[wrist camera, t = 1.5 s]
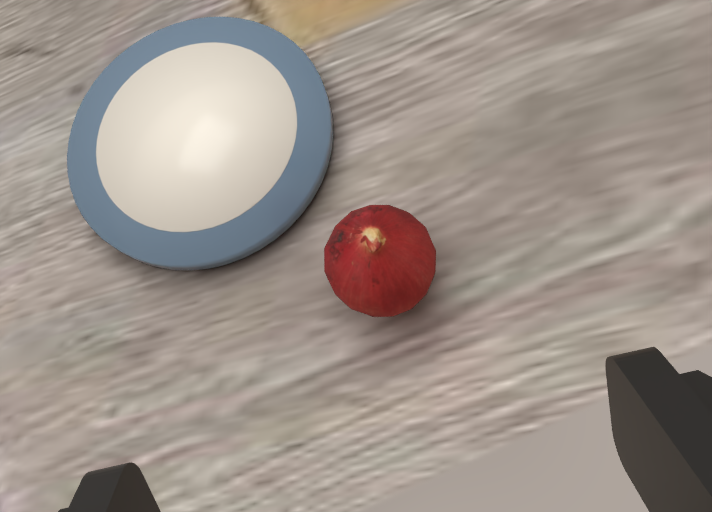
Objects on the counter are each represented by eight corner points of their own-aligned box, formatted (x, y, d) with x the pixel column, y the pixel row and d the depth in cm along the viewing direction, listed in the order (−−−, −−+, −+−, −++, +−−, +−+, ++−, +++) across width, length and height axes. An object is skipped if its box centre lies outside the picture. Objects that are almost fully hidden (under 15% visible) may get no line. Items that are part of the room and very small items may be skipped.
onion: (322, 306, 39) (286, 266, 31) (362, 219, 40) (337, 160, 33) (415, 344, 37) (401, 312, 30) (454, 252, 39) (450, 199, 31)
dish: (302, 2, 46) (296, -17, 44) (364, 227, 40) (359, 216, 38) (70, 77, 47) (54, 62, 45) (97, 306, 41) (81, 298, 39)
